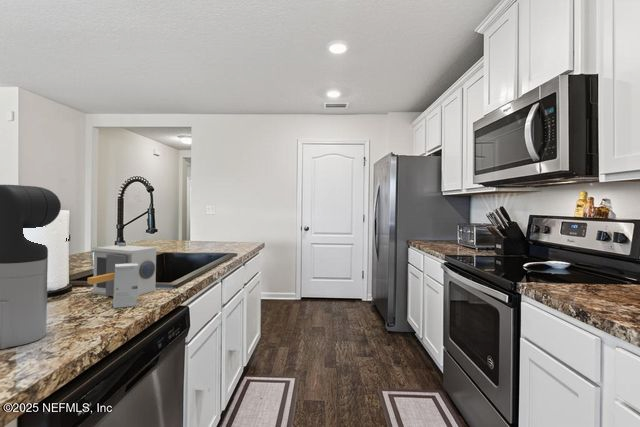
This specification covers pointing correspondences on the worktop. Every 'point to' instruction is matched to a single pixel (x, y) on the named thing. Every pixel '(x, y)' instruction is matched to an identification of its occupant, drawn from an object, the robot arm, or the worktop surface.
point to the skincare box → (125, 285)
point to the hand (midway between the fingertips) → (67, 237)
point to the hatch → (108, 273)
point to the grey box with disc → (133, 255)
